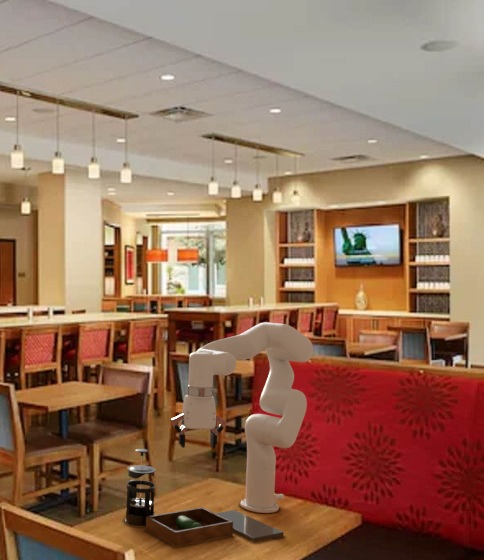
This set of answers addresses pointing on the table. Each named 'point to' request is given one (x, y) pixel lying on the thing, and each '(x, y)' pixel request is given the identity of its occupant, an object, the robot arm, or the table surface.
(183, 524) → the cucumber
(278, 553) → the table surface
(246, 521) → the board
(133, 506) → the french press
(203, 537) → the brown wooden tray
